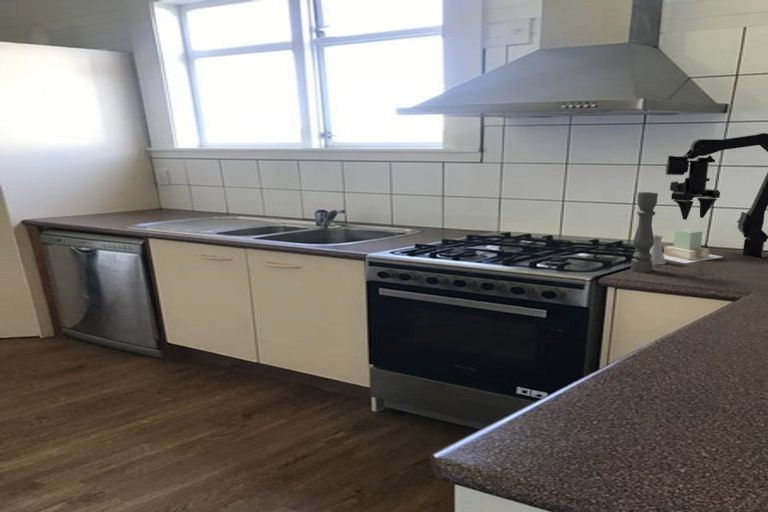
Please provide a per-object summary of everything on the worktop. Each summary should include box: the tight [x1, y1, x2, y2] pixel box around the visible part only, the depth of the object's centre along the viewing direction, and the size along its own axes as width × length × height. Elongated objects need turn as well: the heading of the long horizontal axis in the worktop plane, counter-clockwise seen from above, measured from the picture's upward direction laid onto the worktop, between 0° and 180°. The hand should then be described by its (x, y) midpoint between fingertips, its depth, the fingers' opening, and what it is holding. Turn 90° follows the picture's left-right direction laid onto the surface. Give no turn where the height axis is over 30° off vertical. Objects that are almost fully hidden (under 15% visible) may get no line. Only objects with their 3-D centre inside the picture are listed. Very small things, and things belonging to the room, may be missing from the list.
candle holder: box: [630, 191, 659, 273], centre depth 176 cm, size 6×6×25 cm
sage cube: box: [673, 228, 703, 250], centre depth 192 cm, size 6×6×6 cm
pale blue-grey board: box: [663, 252, 722, 264], centre depth 193 cm, size 20×14×1 cm
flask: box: [649, 234, 667, 268], centre depth 184 cm, size 7×7×10 cm
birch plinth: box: [663, 245, 711, 260], centre depth 193 cm, size 10×10×3 cm
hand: (693, 218), depth 199 cm, fingers open, 9 cm apart
